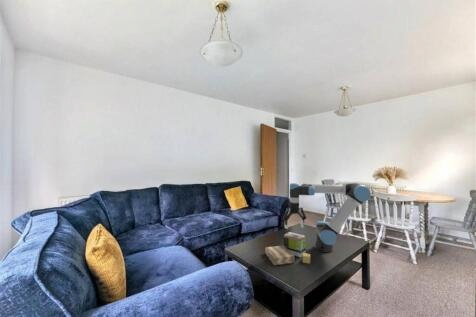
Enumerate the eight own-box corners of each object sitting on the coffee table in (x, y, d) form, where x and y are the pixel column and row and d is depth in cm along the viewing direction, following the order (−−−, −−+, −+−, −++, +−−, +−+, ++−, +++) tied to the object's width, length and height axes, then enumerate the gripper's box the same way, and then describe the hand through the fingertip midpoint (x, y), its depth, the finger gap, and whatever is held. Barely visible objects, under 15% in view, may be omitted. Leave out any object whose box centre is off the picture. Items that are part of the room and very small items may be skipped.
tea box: (306, 253, 167) (306, 235, 168) (300, 258, 160) (300, 239, 160) (289, 248, 178) (289, 231, 178) (283, 252, 170) (283, 234, 170)
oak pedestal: (283, 251, 172) (283, 245, 172) (294, 262, 153) (294, 255, 153) (265, 253, 168) (265, 247, 168) (274, 265, 150) (274, 258, 150)
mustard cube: (310, 260, 156) (310, 254, 156) (309, 263, 152) (309, 256, 152) (303, 259, 158) (303, 252, 158) (302, 262, 153) (302, 255, 153)
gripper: (305, 200, 175) (305, 225, 175) (278, 202, 170) (278, 227, 170) (310, 202, 168) (310, 228, 168) (282, 204, 163) (282, 230, 162)
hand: (294, 228), depth 169 cm, fingers open, 13 cm apart
